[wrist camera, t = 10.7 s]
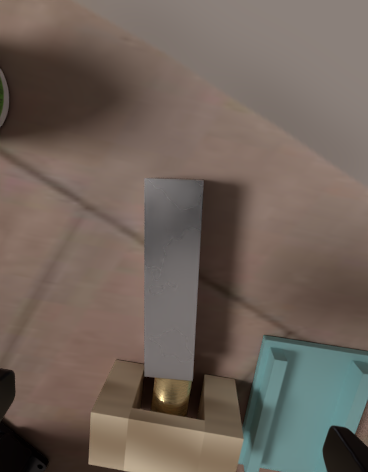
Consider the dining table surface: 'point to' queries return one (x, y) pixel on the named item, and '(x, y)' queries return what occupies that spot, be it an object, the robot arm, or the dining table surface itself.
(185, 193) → the grey long bar
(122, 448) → the bore block
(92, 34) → the dining table surface
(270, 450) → the cradle
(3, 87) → the supplement bottle
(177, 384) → the cylinder
